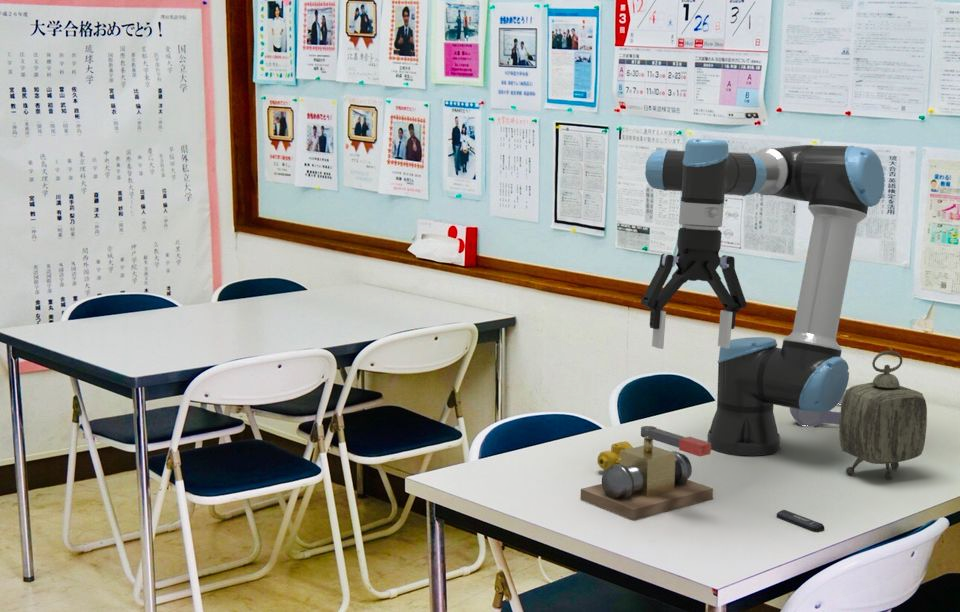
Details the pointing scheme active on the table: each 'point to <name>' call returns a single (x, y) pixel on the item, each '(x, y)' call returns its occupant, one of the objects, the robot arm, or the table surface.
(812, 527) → the usb stick
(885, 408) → the tabletop clock
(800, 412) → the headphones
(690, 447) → the valve lever
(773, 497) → the table surface
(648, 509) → the valve plinth
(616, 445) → the pressure relief valve
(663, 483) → the pipe valve
